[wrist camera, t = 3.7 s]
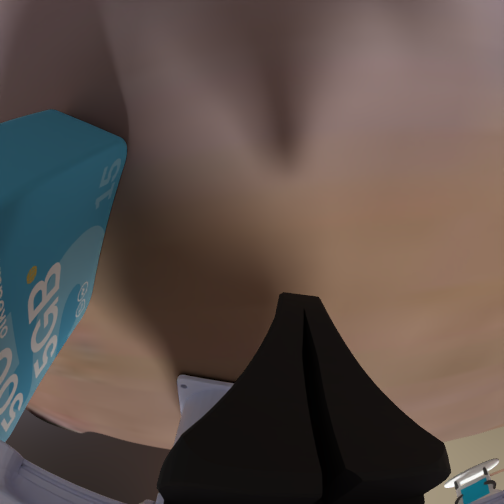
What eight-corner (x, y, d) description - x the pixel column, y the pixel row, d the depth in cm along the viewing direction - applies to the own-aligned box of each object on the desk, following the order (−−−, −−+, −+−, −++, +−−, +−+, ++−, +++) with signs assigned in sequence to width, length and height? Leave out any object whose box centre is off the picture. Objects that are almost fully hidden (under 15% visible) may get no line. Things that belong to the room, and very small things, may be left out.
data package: (90, 306, 19) (1, 456, 8) (39, 276, 18) (-62, 403, 8) (137, 133, 13) (-99, 280, 3) (66, 103, 12) (-151, 195, 2)
